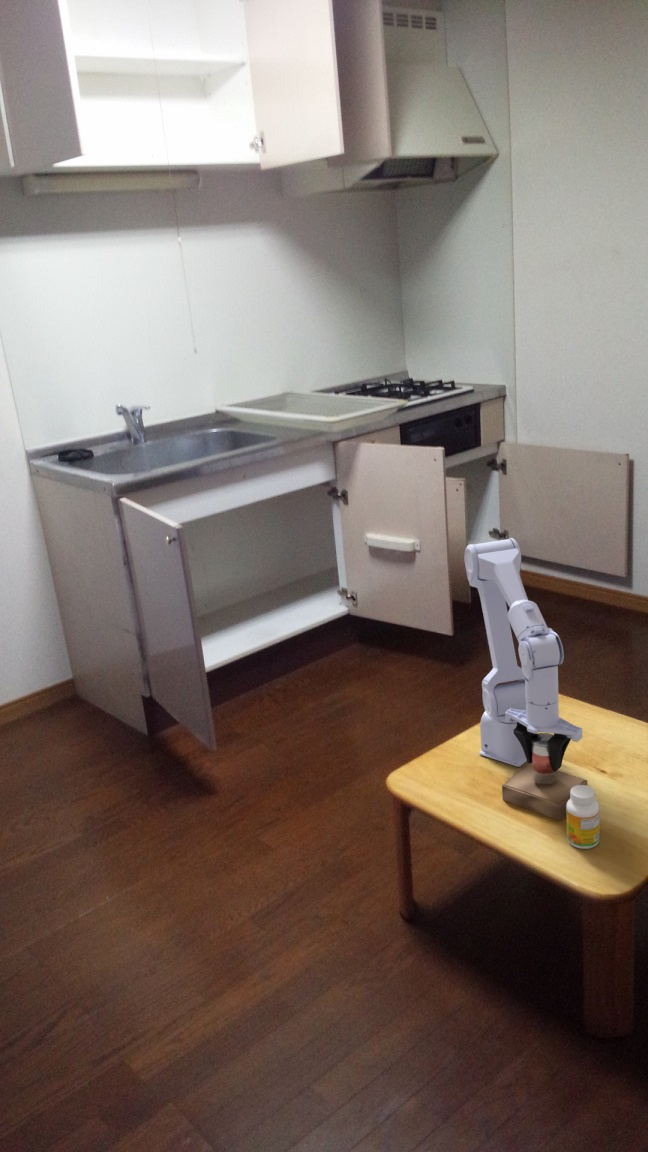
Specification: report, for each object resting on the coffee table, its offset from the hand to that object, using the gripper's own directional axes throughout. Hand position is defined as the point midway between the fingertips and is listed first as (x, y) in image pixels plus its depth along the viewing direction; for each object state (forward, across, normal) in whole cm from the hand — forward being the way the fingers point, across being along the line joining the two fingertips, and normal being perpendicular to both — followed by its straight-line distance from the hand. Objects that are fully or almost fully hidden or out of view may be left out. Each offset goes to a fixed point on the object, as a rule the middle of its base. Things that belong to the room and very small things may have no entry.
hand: (544, 764), depth 165 cm
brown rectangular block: (+7, 0, 0) cm, 7 cm away
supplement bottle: (+7, +12, -8) cm, 16 cm away
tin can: (+3, 0, 0) cm, 3 cm away
